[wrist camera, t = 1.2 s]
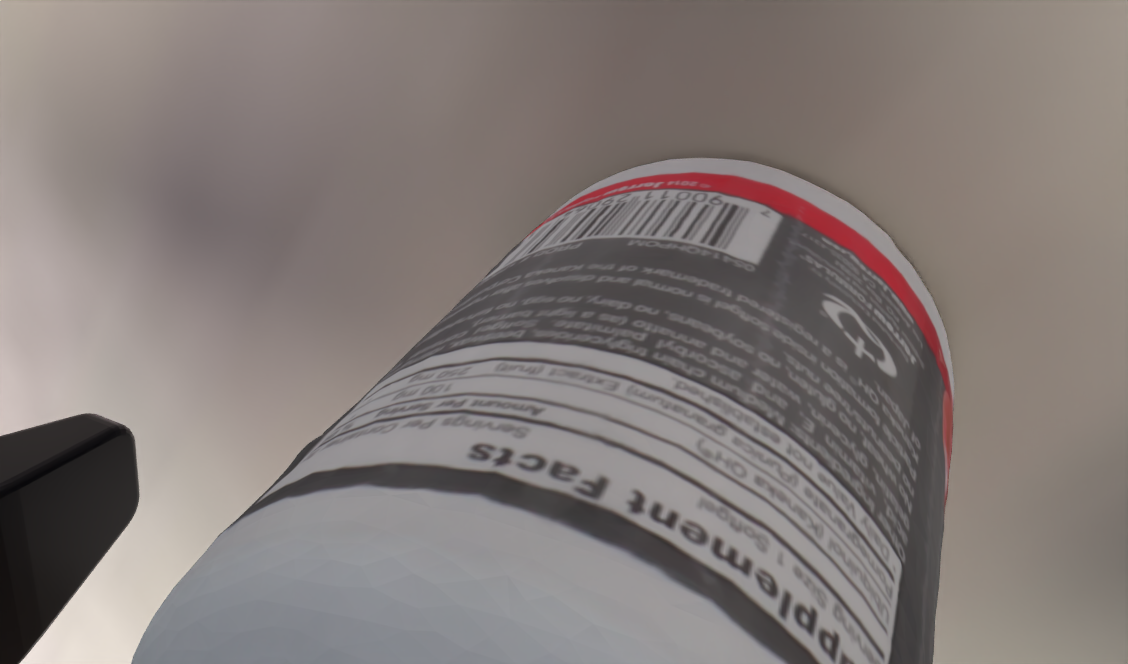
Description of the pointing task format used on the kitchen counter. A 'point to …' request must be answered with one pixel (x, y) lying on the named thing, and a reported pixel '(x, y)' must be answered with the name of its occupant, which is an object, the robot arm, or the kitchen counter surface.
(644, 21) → the kitchen counter surface
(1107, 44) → the kitchen counter surface
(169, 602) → the pill bottle
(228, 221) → the kitchen counter surface
